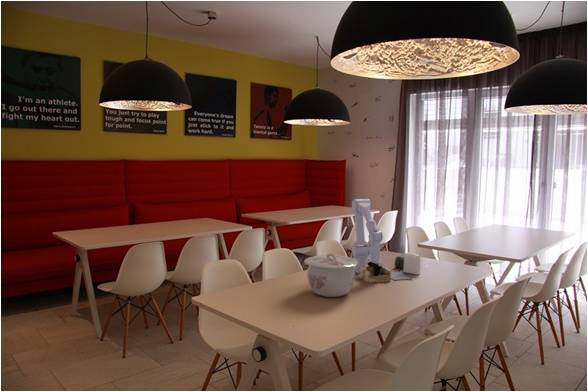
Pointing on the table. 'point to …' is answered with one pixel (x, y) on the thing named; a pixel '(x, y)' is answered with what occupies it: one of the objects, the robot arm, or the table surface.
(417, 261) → the photo printer
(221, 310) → the table surface
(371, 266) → the brown and grey block
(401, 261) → the rock
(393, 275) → the slate mat
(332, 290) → the chamber pot
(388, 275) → the wooden cubby shelf
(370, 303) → the table surface
